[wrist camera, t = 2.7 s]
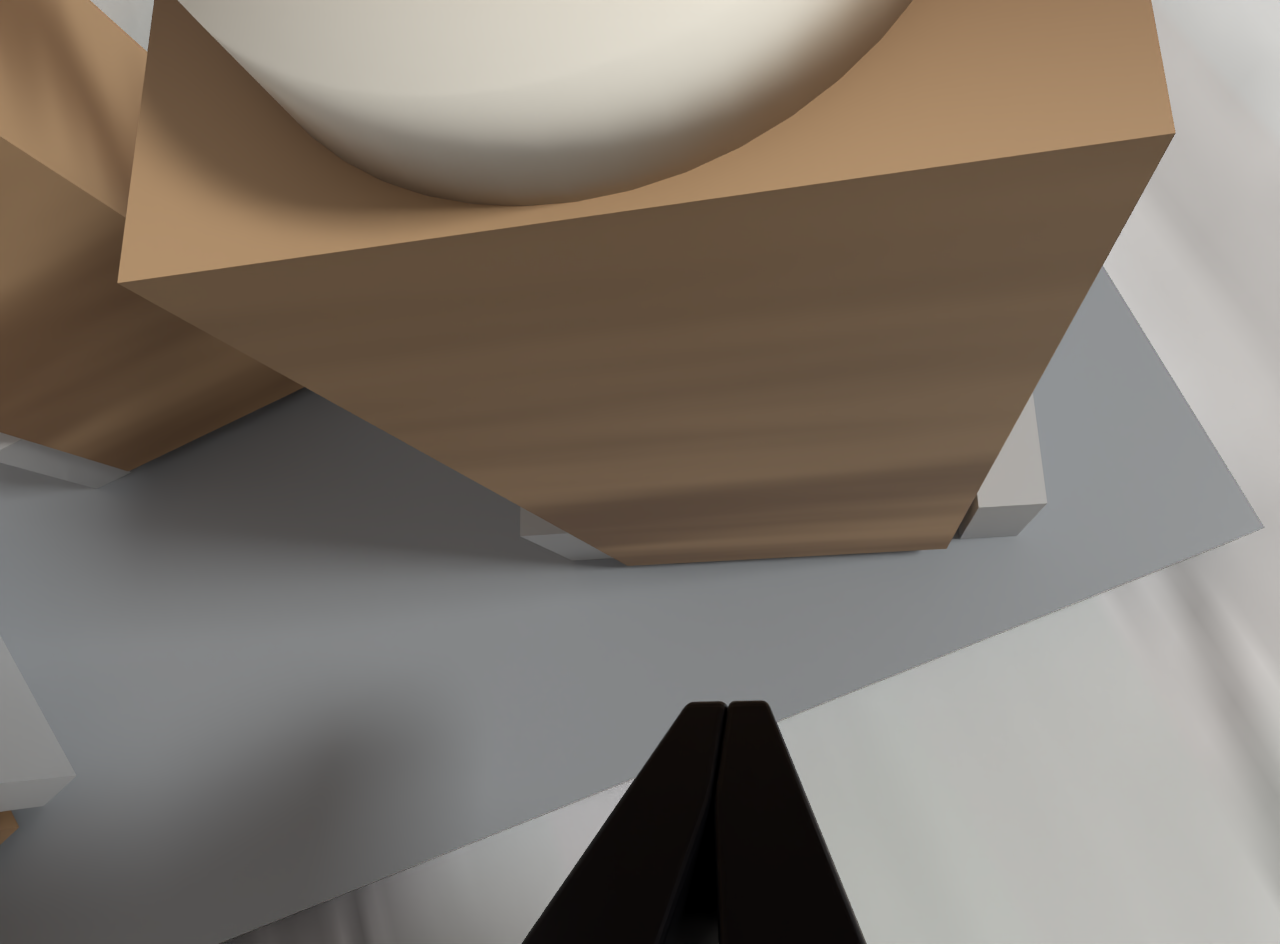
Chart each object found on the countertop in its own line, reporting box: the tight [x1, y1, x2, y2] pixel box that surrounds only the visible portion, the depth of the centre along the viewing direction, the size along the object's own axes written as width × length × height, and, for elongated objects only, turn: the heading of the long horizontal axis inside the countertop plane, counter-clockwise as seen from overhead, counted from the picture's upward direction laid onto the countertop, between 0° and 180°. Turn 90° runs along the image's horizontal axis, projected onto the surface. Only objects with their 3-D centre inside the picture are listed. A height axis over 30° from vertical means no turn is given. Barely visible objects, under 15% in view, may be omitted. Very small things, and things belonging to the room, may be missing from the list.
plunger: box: [117, 0, 1175, 566], centre depth 11 cm, size 5×6×14 cm
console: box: [0, 266, 1265, 944], centre depth 21 cm, size 20×36×4 cm, turn 111°
